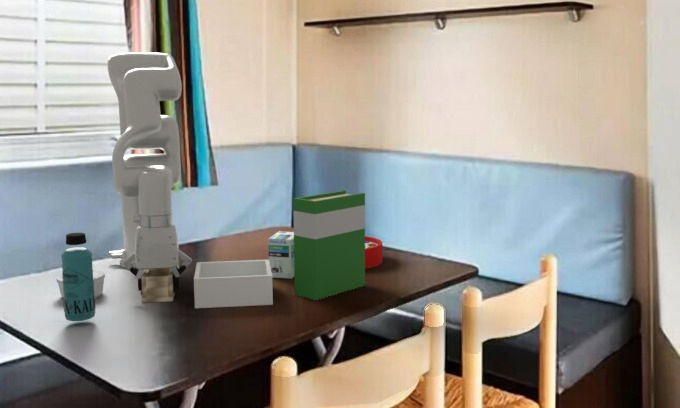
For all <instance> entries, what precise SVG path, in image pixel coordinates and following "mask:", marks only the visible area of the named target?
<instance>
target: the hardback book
mask: <svg viewBox="0 0 680 408" xmlns="http://www.w3.org/2000/svg"><path fill="white" fill-rule="evenodd" d="M292 203H293V204H292V205H293V207H292V208H293V209H292V210H293V211H292V212H293V232H294V277H293V279H294V296H297V295H298V296H297V297H301V296H302V297H301V298H304V297H306V298H305V299H308V298H309V300H312V299H313V300H312V301H315V300H317V301H319V299H320V300H322V298H323V299H326V298H325V297H327V298H329V297H328V296H330V297H332V295H333V296H336V295H339V294H338V293H340V294H341V292H343V293H345V292H344V291H346V292H348V291H347V290H349V291H353V290H355V288H356V289H358V287H359V288H362V287H365V285H366V269H365V236H366V193H365V192H359V193H354V194H351V193H347V190H343V189H342V190H339V191H332V192H326V193H325V192H324V193H319V194H312V195H307V196H305V195H304V196H302V197H301V196H300V197H294V198H293V202H292ZM352 289H353V290H352ZM335 294H336V295H335Z"/></svg>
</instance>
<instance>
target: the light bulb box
mask: <svg viewBox="0 0 680 408" xmlns="http://www.w3.org/2000/svg"><path fill="white" fill-rule="evenodd" d="M267 245H268V247H267V250H268V260H269V263H270V267H271V272H272V279H274V278H275V279H276V278H277V279H290V280H291V279H294V231H282V230H279V231H277V232H276V233H274V234H273V235H272V236H270V237H269V238H268V239H267Z"/></svg>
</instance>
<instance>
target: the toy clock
mask: <svg viewBox="0 0 680 408" xmlns="http://www.w3.org/2000/svg"><path fill="white" fill-rule="evenodd" d="M382 263H383V241H382V240H381V239H378V238H376V237H372V236H367V235H365V270H367V269H370V268H375V267H378V266H380V265H381V264H382Z"/></svg>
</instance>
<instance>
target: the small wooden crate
mask: <svg viewBox="0 0 680 408" xmlns="http://www.w3.org/2000/svg"><path fill="white" fill-rule="evenodd" d="M173 276H174V274H173V272H172V270H171V269H170V268H167V269H145V271H144V273H143V276H142V278H141V280H142V295H141V297H142V298H141V299H142V303H162V302H173V301H174V298H175V294H176V293H173Z"/></svg>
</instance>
